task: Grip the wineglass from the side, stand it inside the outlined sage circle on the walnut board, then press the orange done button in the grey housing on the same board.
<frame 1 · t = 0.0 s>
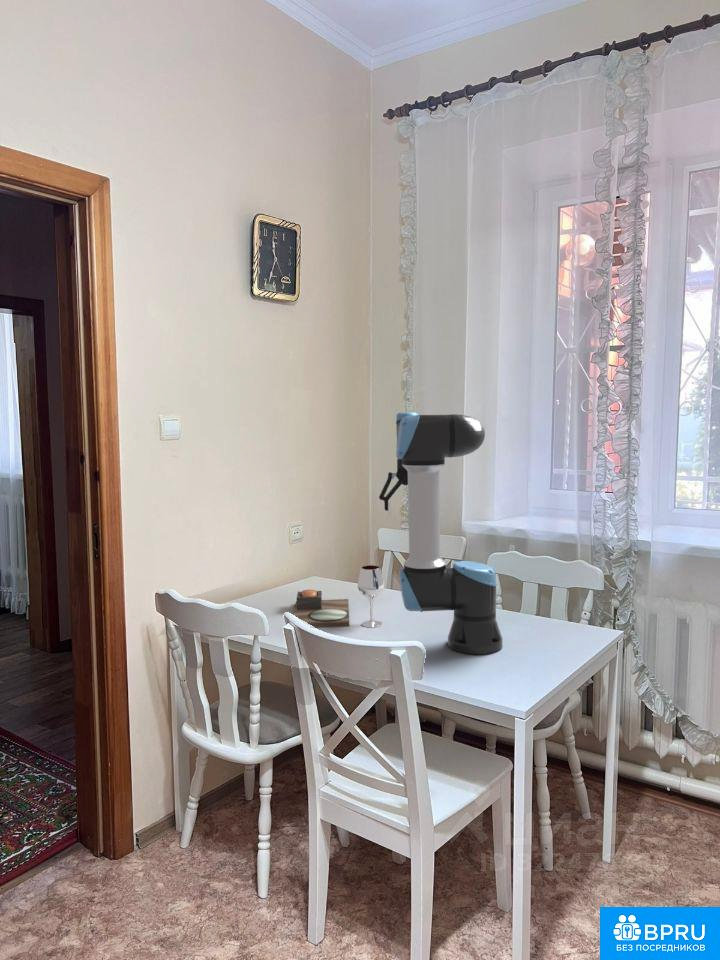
hand: (409, 519, 246), 28 cm above the table, tool pointing down, fingers open, 13 cm apart
board: (321, 614, 234), on the table
done button: (309, 596, 239), point 5 cm above the table, slide at 0.0 cm
wineglass: (371, 625, 222), on the table
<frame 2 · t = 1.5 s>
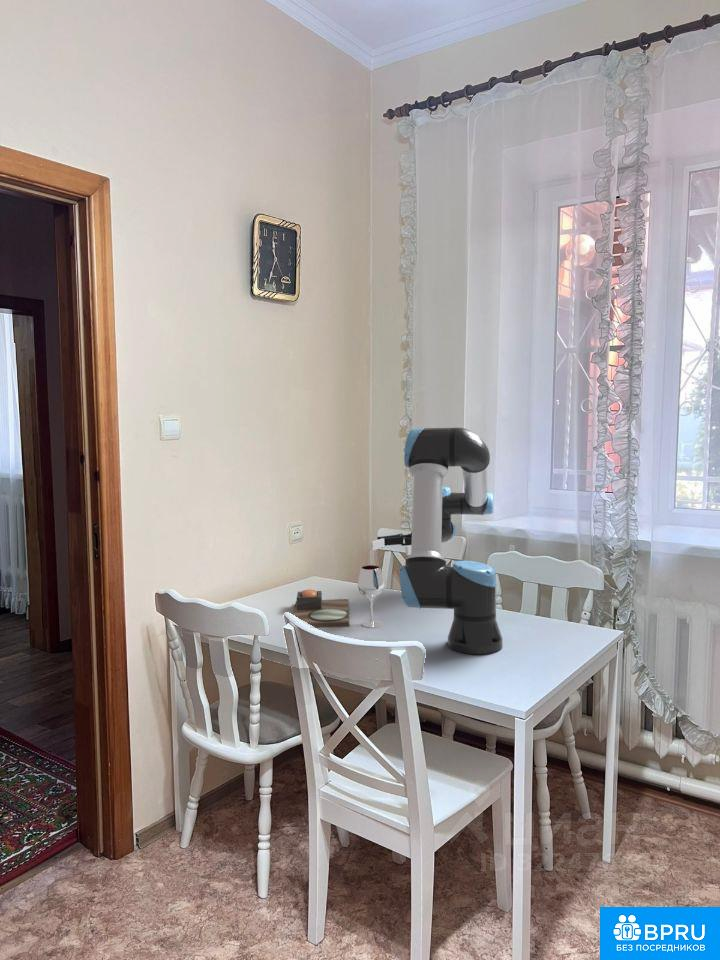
hand: (388, 548, 227), 22 cm above the table, tool horizontal, fingers open, 13 cm apart
nothing on the table moved.
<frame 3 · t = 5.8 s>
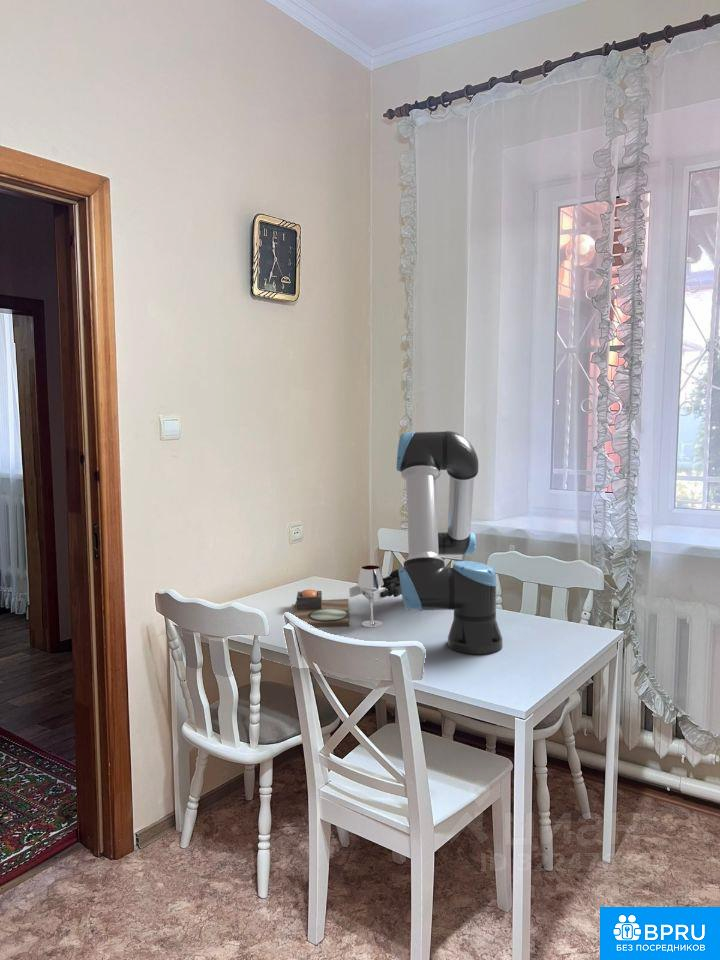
hand: (361, 594, 217), 11 cm above the table, tool horizontal, fingers closed on wineglass, 8 cm apart
wineglass: (371, 624, 222), on the table, touching gripper
everything else where it was.
when the fingers open (13 cm above the table, at t = 11.8 s): wineglass drops 1 cm, resting on board.
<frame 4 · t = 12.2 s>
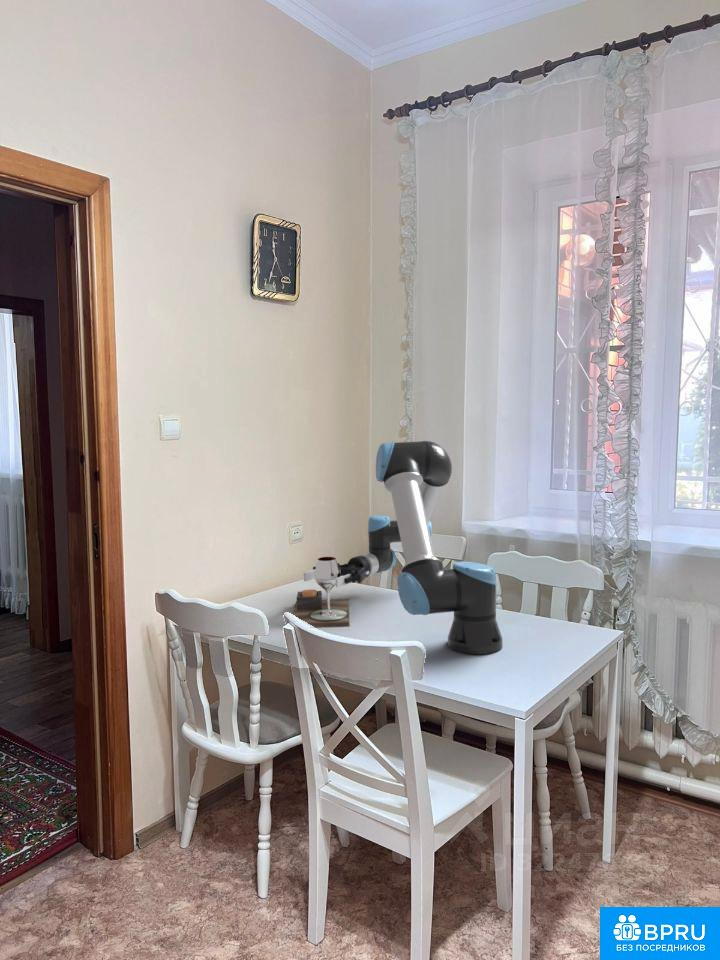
hand: (320, 579, 225), 13 cm above the table, tool horizontal, fingers open, 13 cm apart
wineglass: (328, 614, 229), point 1 cm above the table, touching board
everything else where it was.
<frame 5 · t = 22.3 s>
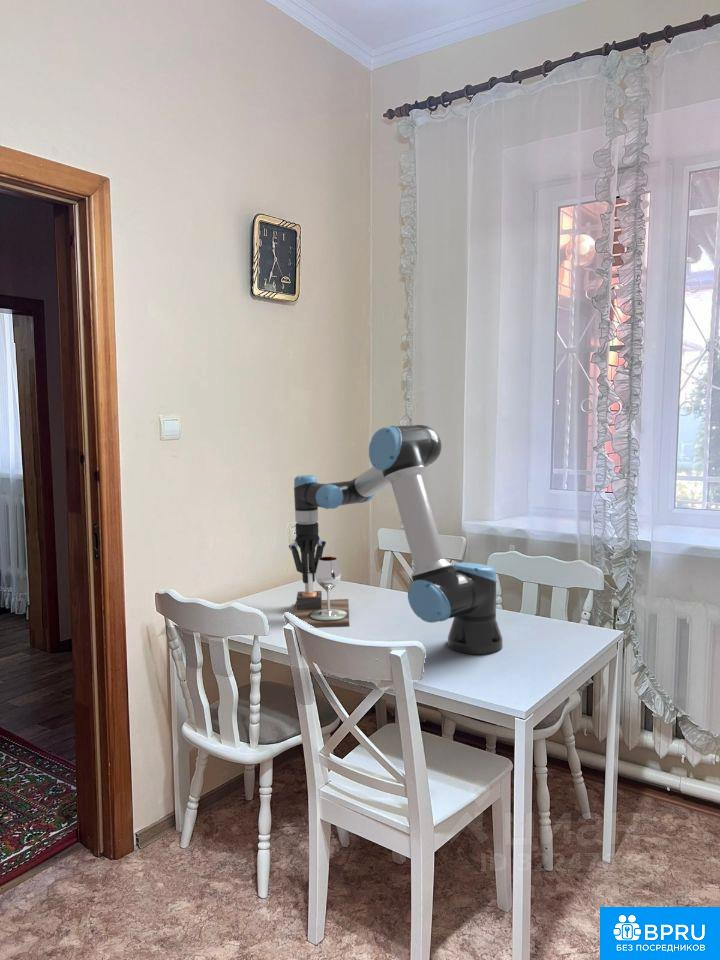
hand: (309, 592, 239), 6 cm above the table, tool pointing down, fingers closed
done button: (309, 597, 239), point 4 cm above the table, slide at 0.5 cm, touching gripper
everything else where it was.
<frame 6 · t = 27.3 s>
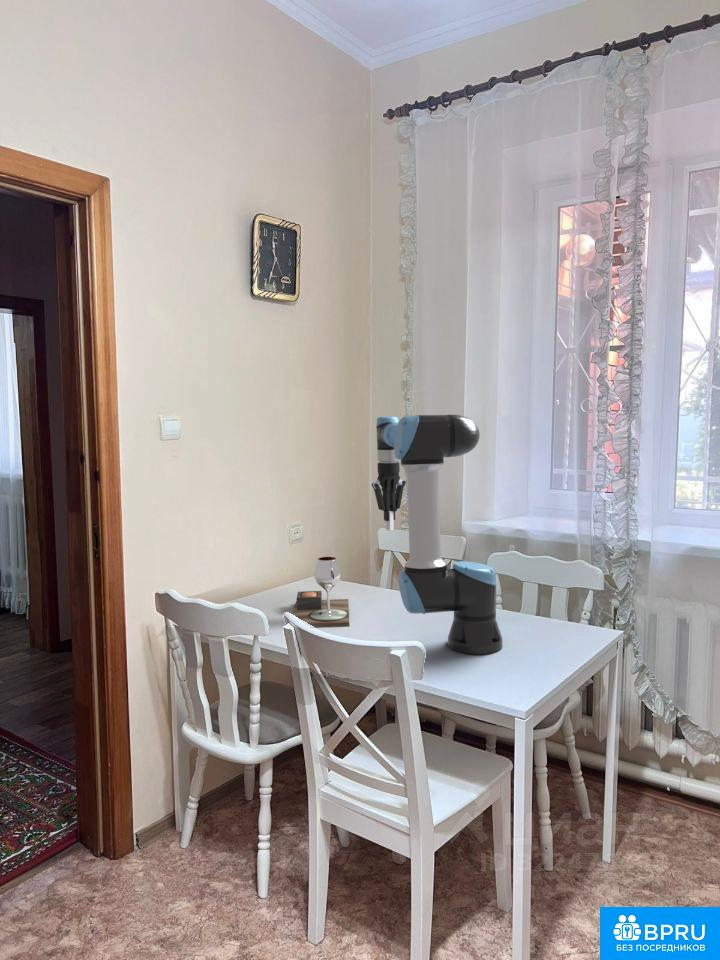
hand: (389, 529, 247), 24 cm above the table, tool pointing down, fingers closed
done button: (309, 598, 239), point 4 cm above the table, slide at 0.8 cm
everything else where it was.
at the end: wineglass inside the target area (0.3 cm from its centre), point 1.3 cm above the table; wineglass tilted 1°; done button slide at 0.8 cm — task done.
